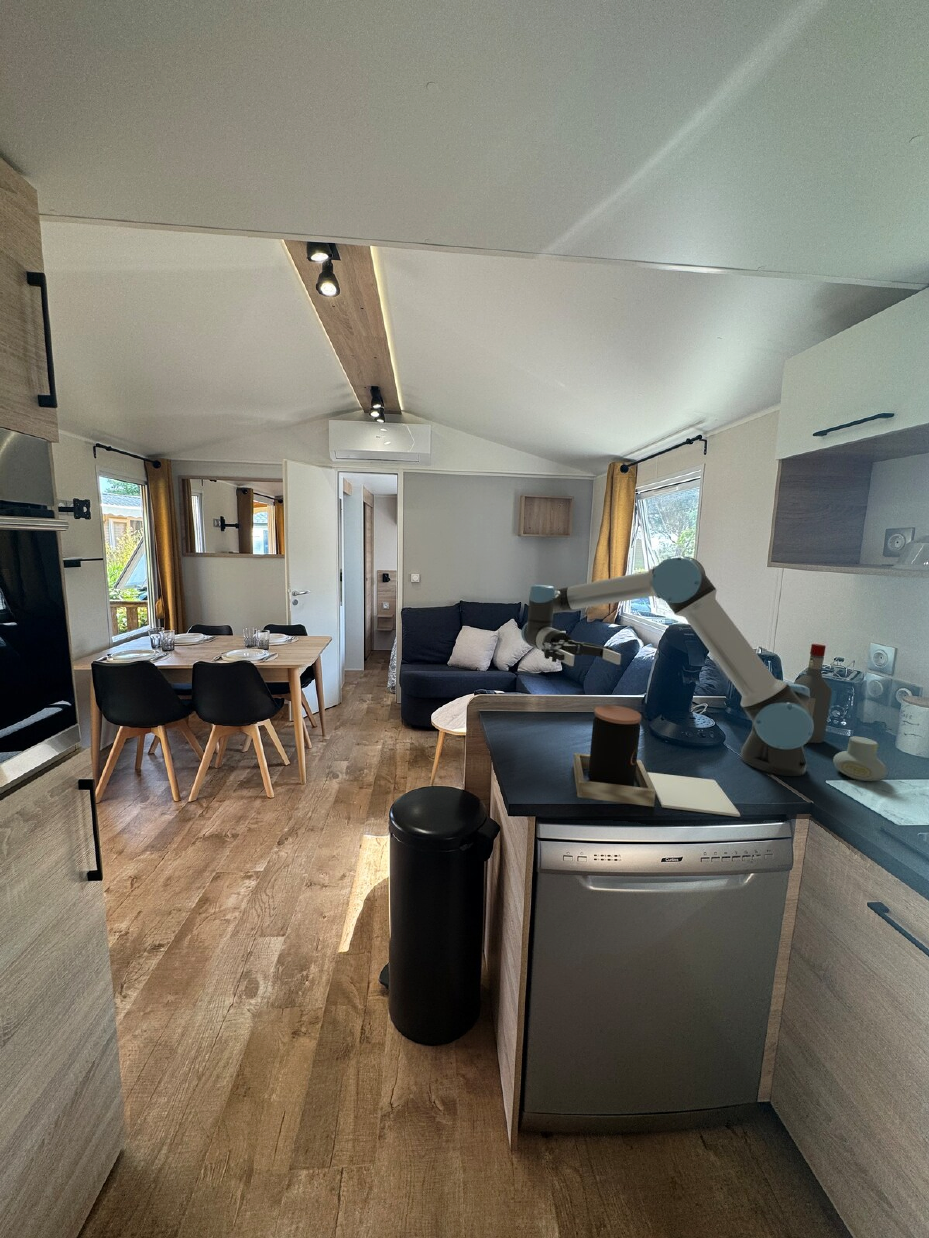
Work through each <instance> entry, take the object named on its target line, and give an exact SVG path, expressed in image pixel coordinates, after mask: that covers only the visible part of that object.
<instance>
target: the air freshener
mask: <svg viewBox="0 0 929 1238" xmlns="http://www.w3.org/2000/svg"><path fill="white" fill-rule="evenodd" d="M846 749H847V750H843V751H840V752H838V753H836V754H835V755H834V756H833V760H832V761H833V764H834V766H835V768H836V769H837V770H838V771H839V772H841V774H843V775H845V776H847V777H849V778H850V779H852V780H855V781H860V782H877V781H880V780H882V779H884V778H885V777H886V775H888V771H887V767H886V766H885V764H884V763H883V762H882V761H881V760H880V759H878V758H877V754H878V749H879V744H878V742H877V741H875V740H873V739H870V738H869V737H868V738H867V737H863V736H862V737H861V736H854V735H853V736H850V737H849V739H848V745H847V748H846Z"/></svg>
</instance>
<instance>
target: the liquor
mask: <svg viewBox="0 0 929 1238" xmlns="http://www.w3.org/2000/svg"><path fill="white" fill-rule="evenodd" d="M825 653H826V645H824V644H818V643H811V646H810V652H809V654H810V656H809V663H808V667H807V670H806V673H805V674H804V675H802V676H801V677H799V678H798V679H796V680H794V681H793V683H794V684H799V685H803V686H806V687H808V688H809V690H810V698H809V701H808V710H809V712H810V715H811V716H812V718H813V722H814V730H813V734H812V736H811V738H810V739H809V741H808V742H807V743H806V744H822V743H823V742H824V741H825V737H826V730H827V725H828V719H829V718H828V717H829V712H830V707H831V701H832V695H833V693H832V692H833V691H832V688H831V686H830V685H829V683H827V681H826V680H825V679H824V678H823V676H822V675H823V674H822V669H823V660H824V657H825Z"/></svg>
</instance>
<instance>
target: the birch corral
mask: <svg viewBox="0 0 929 1238" xmlns="http://www.w3.org/2000/svg"><path fill="white" fill-rule="evenodd" d="M573 755H574V756H573V763H572V765H573V772H574V780H575V787H576V792H577V798H581V799H592V800H596V801H606V802H613V803H622V804H630V805H639V806H646V807H655V799H656V793H655V790H654V787H653V785H652V783H651V781H650V779H649V777H648V775H647V770H646V768H645V766H644V764H643V762H642V760H640V759H637V764H636V773H635V779H636V780H637V782H638V785H639V786H634V787H632V786H624V785H616V784H607V783H599V782H591V781H590V780H585V779H584V772H583V770H589V760H590V753H589V754H587V753H578V752H574V754H573Z"/></svg>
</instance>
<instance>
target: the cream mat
mask: <svg viewBox="0 0 929 1238" xmlns="http://www.w3.org/2000/svg"><path fill="white" fill-rule="evenodd" d="M646 772H647V771H646ZM647 775H648V777H649V779H650V781H651V783H652V785H653V787H654V790H655V796H656V797H657V799H658V801H659V803H660V806H661V808H665V809H666V808H667V809H674V810H683V811H689V812H690V811H692V812H698V813H706V814H714V815H720V816H721V815H723V816H731V817H736V818H737V817H738V818H740V817H741V814H740V812H739V810H738V809H737V807H736V806H735V805H734V804H733V802H732V801H731V800H730V799H729V797H728V796H727V794H726V793H725V792H724V790H723V789H722V787H720V785H719V784H718V783H717V781H716V780H715V779H709V778H699V777H693V776H692V777H691V776H685V775H684V776H682V775H674V774H667V773H666V774H664V773H657V772H650V771H649V772H647Z"/></svg>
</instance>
